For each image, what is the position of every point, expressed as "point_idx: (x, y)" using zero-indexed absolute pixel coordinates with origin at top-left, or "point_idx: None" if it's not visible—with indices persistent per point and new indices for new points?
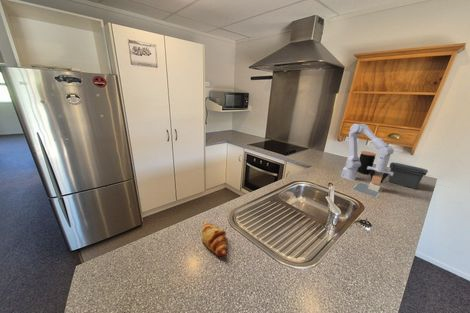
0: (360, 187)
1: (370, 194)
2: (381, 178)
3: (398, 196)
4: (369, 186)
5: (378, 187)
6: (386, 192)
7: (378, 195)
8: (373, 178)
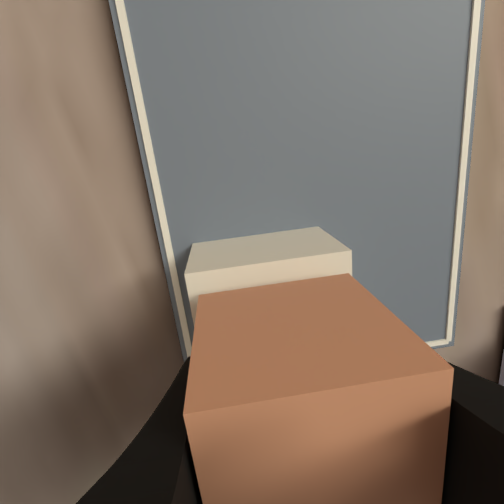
0: (399, 158)
1: (215, 9)
2: (185, 412)
3: (4, 368)
4: (319, 236)
5: (199, 263)
6: (135, 351)
7: (130, 103)
8: (373, 327)
